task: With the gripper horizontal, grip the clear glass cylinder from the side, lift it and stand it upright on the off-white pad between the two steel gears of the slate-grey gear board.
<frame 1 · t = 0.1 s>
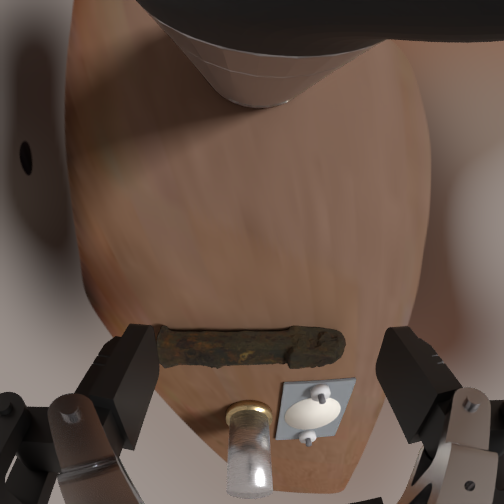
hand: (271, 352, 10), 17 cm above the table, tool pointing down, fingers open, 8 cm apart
gear board: (312, 411, 36), on the table
clear glass cylinder: (249, 413, 36), on the table
hand tool: (251, 330, 31), on the table
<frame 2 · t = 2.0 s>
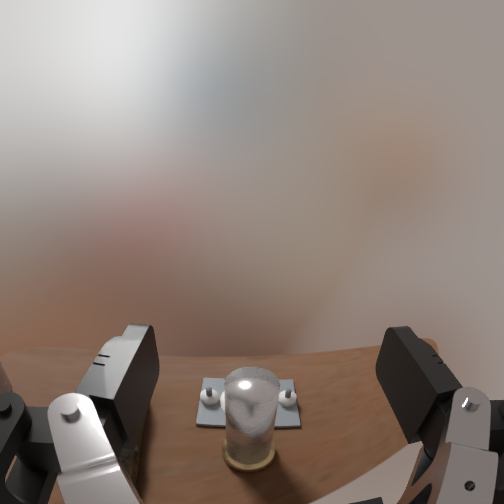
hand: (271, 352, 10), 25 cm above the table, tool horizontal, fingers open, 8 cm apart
gear board: (248, 403, 37), on the table
clear glass cylinder: (248, 452, 29), on the table
hand tool: (130, 442, 29), on the table
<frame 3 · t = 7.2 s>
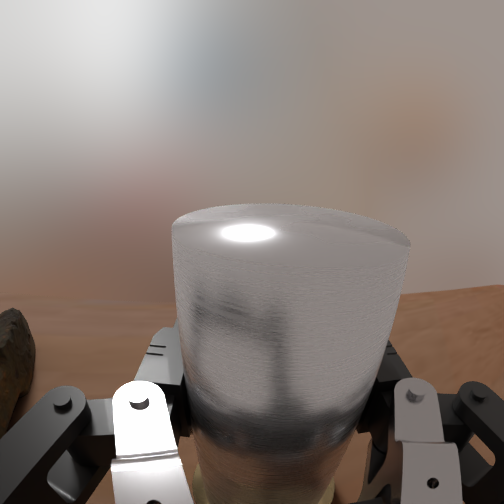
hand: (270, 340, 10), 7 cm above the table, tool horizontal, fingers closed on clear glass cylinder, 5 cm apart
clear glass cylinder: (262, 493, 10), on the table, touching gripper
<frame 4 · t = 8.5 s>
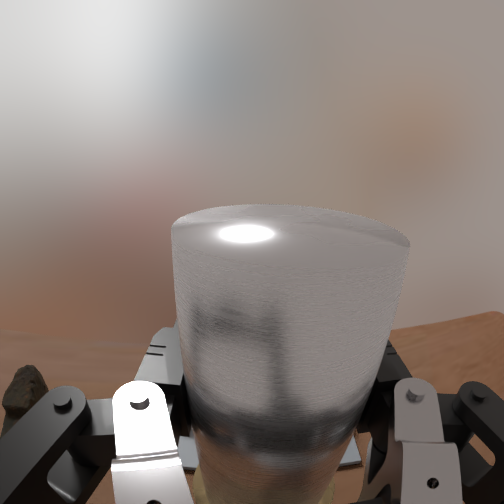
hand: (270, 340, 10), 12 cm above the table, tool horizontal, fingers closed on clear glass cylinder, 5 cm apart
gear board: (259, 423, 20), on the table
clear glass cylinder: (262, 493, 10), point 5 cm above the table, touching gripper
hand tool: (27, 481, 11), on the table
when the fingers open (9 cm above the table, at t = 12.4 s): clear glass cylinder drops 1 cm, resting on gear board.
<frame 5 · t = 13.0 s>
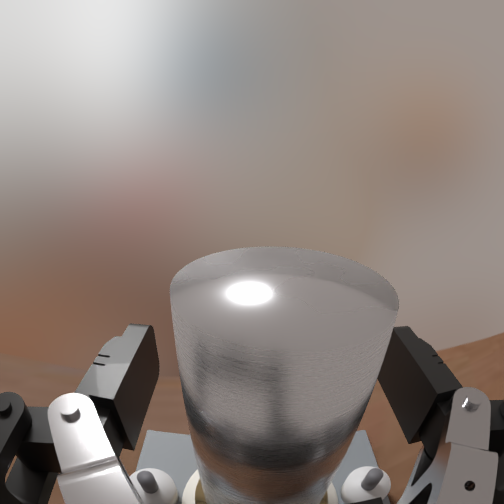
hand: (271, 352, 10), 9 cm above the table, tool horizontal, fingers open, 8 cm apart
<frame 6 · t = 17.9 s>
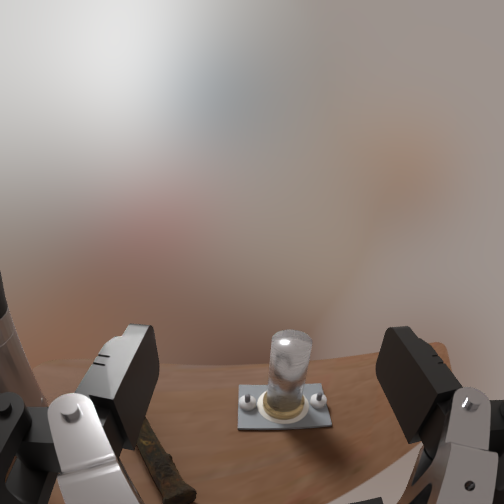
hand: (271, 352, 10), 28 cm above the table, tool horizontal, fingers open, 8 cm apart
gear board: (282, 406, 40), on the table
clear glass cylinder: (283, 405, 40), point 1 cm above the table, touching gear board
hand tool: (148, 454, 30), on the table
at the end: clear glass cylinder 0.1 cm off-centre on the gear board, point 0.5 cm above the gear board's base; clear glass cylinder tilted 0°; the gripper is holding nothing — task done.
